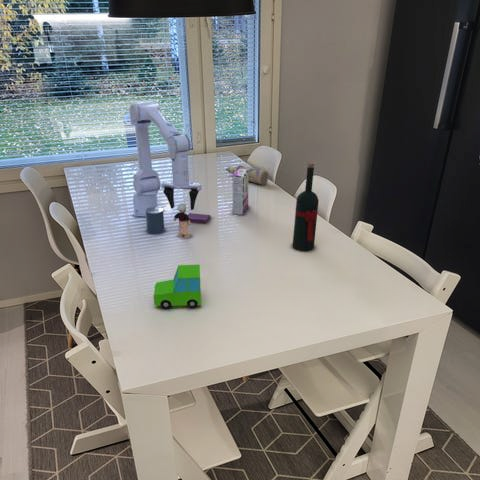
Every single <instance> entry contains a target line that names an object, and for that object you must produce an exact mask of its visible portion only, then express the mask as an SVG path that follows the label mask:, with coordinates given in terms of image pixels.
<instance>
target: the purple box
mask: <svg viewBox="0 0 480 480" xmlns="http://www.w3.org/2000/svg"><path fill="white" fill-rule="evenodd" d="M187 215H188V217H189V219H190V223H195V224H206V225H207V223H208V222H209V220H210V219H211V215H210V214H206V213H205V214H204V213H195V212H194V213H193V212H189V213H187Z"/></svg>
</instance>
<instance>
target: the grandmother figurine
mask: <svg viewBox="0 0 480 480" xmlns="http://www.w3.org/2000/svg"><path fill="white" fill-rule="evenodd" d="M186 208H187V205H186V204H185V203H184V202H181V203H179V204H178V206H177V208H176V210H177V211H178V212H177V213H176V214H175V215H174V217H173V222H176V221H177V219H178V233H179V234H178V237H180V238H184V239H188V238H191V234H189V229H188V226H192V222H190V219H189V217H188V213H186V211H187V209H186Z"/></svg>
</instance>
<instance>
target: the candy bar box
mask: <svg viewBox="0 0 480 480" xmlns="http://www.w3.org/2000/svg"><path fill="white" fill-rule="evenodd" d="M248 178H249V170H248V169H238V170H237V171H236V172H235V174H234V175H233V174H232V214H233V215H236V216H237V215H239V216H244V215H245V214H246V212H247V209H248V208H249V181H248Z"/></svg>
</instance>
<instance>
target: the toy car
mask: <svg viewBox="0 0 480 480" xmlns="http://www.w3.org/2000/svg"><path fill="white" fill-rule="evenodd" d="M201 292H202V291H201V264H178V265H177V268H176V271H175V274H174V276H173V279H168V280H163V281H157V282H155V284H154V292H153V300H154V302H153V303H154V306H155V307H161V308H162V309H163V310H169V309H170V308H171V307H176V306H177V307H179V306H187V307H188V308H189V309H196V308H197V307H198V306H201V305H202V293H201Z"/></svg>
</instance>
